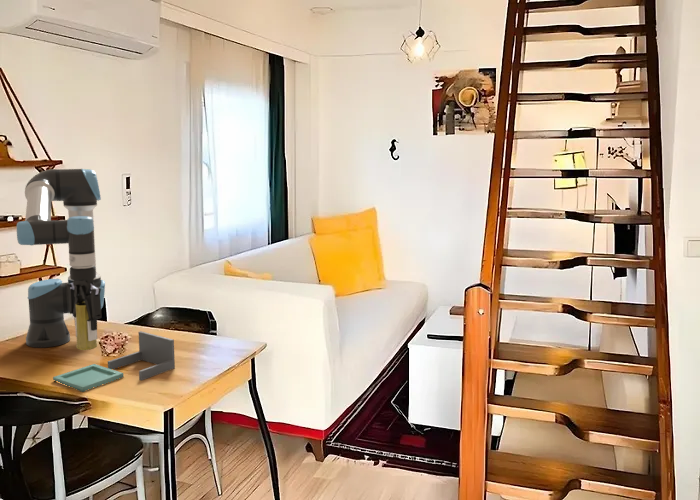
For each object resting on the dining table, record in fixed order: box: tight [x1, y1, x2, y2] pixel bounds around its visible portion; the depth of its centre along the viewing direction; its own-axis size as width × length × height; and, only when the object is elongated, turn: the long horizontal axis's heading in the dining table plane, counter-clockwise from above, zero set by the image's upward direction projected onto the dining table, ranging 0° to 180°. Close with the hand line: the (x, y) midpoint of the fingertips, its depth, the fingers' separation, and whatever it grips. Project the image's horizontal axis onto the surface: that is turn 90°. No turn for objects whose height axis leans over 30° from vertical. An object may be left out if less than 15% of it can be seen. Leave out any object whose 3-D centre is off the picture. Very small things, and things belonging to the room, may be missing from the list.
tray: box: [52, 363, 124, 393], centre depth 209 cm, size 15×15×2 cm
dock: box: [107, 330, 176, 381], centre depth 219 cm, size 17×14×10 cm
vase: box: [76, 302, 98, 351], centre depth 206 cm, size 6×6×14 cm
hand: (86, 337), depth 207 cm, fingers closed on vase, 6 cm apart
